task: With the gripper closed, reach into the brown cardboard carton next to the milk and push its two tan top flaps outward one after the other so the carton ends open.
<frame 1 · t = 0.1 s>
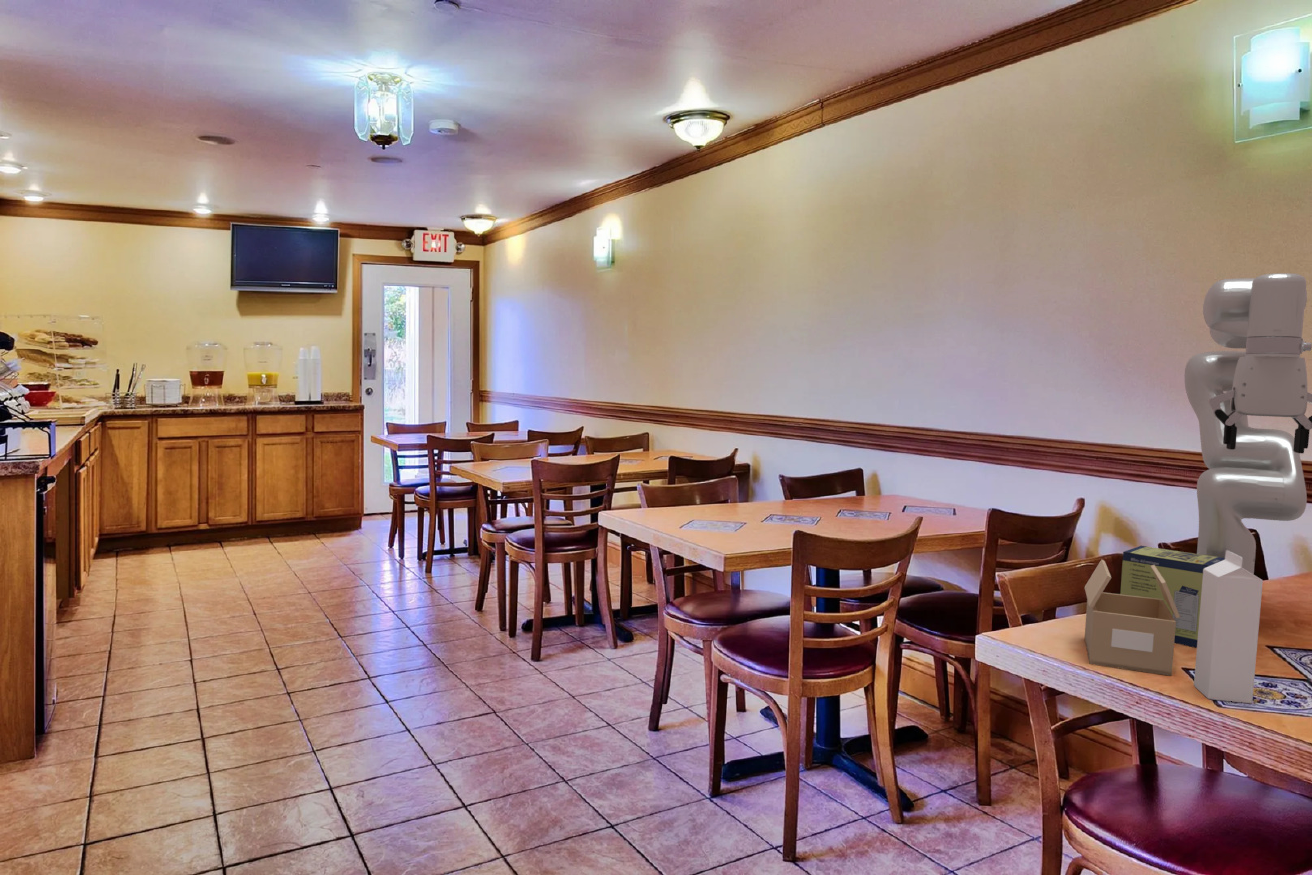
hand: (1264, 450, 147), 37 cm above the table, tool pointing down, fingers open, 9 cm apart
milk: (1222, 695, 134), on the table
flap a: (1097, 582, 152), point 12 cm above the table, hinge at -24.0°
protein box: (1169, 636, 165), on the table
carton: (1125, 655, 151), on the table
flap b: (1164, 590, 148), point 12 cm above the table, hinge at -24.0°
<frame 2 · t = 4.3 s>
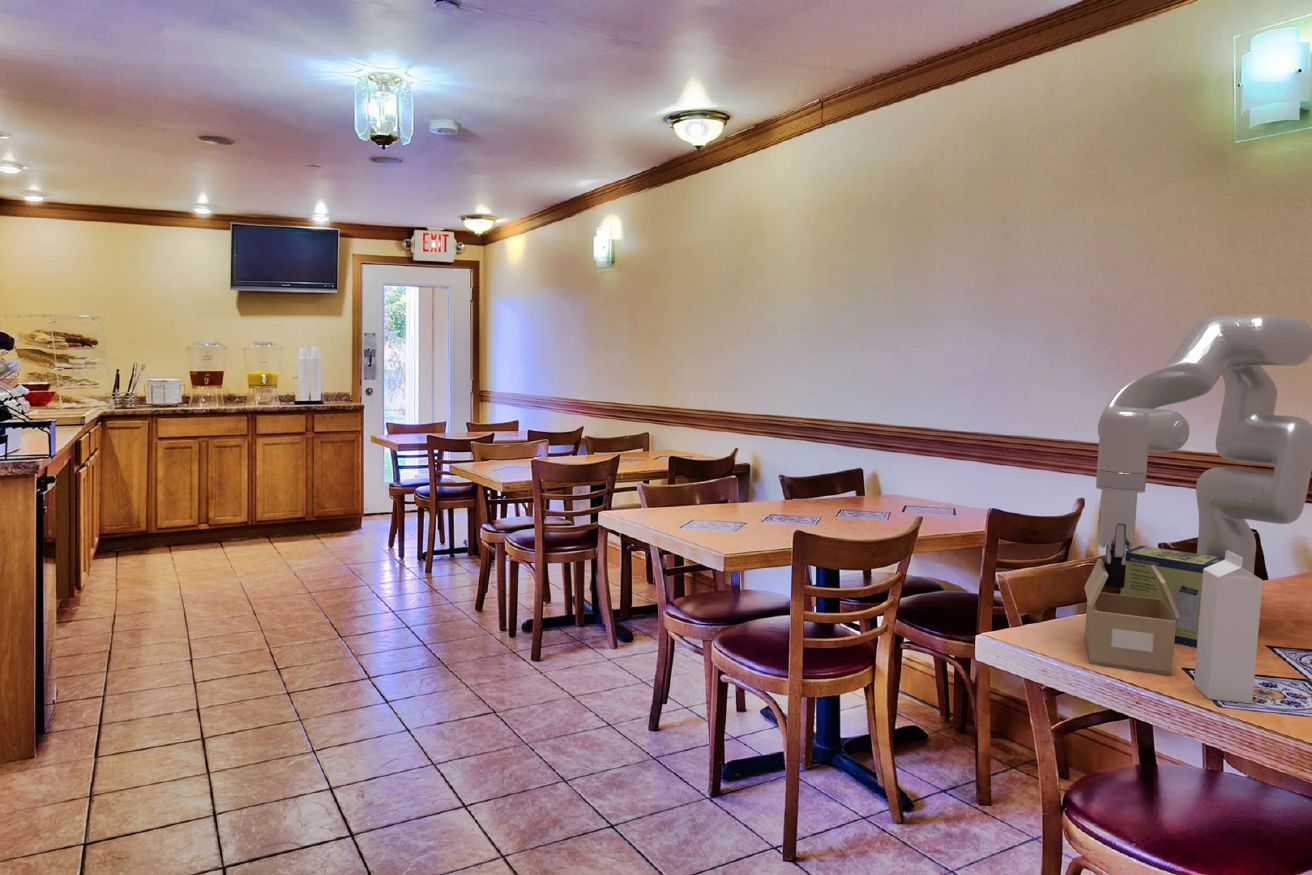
hand: (1113, 585, 151), 12 cm above the table, tool pointing down, fingers closed
flap a: (1095, 581, 153), point 12 cm above the table, hinge at -19.4°, touching gripper
everything else where it was.
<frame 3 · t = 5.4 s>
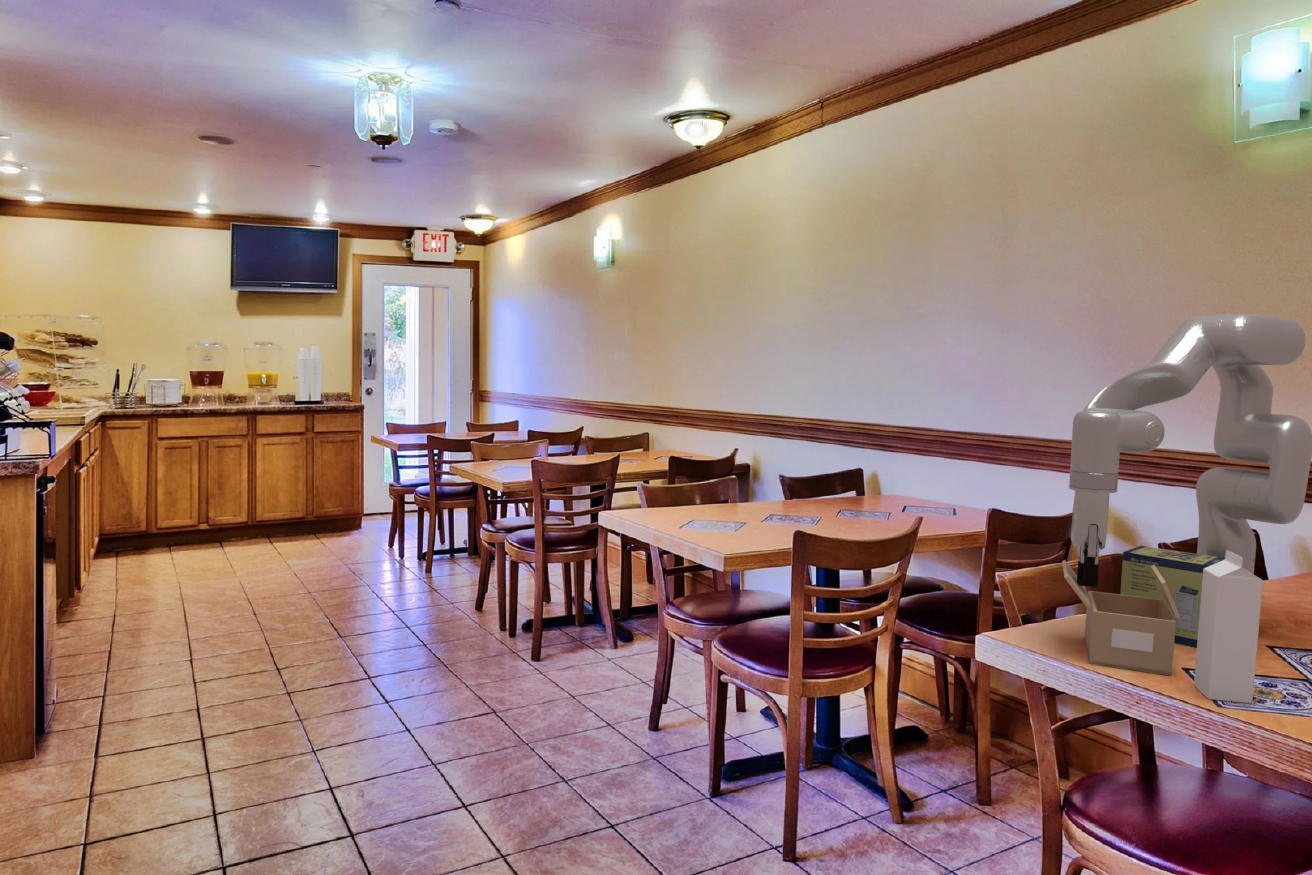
hand: (1087, 585, 153), 12 cm above the table, tool pointing down, fingers closed
flap a: (1075, 582, 154), point 12 cm above the table, hinge at 38.7°, touching gripper
everything else where it was.
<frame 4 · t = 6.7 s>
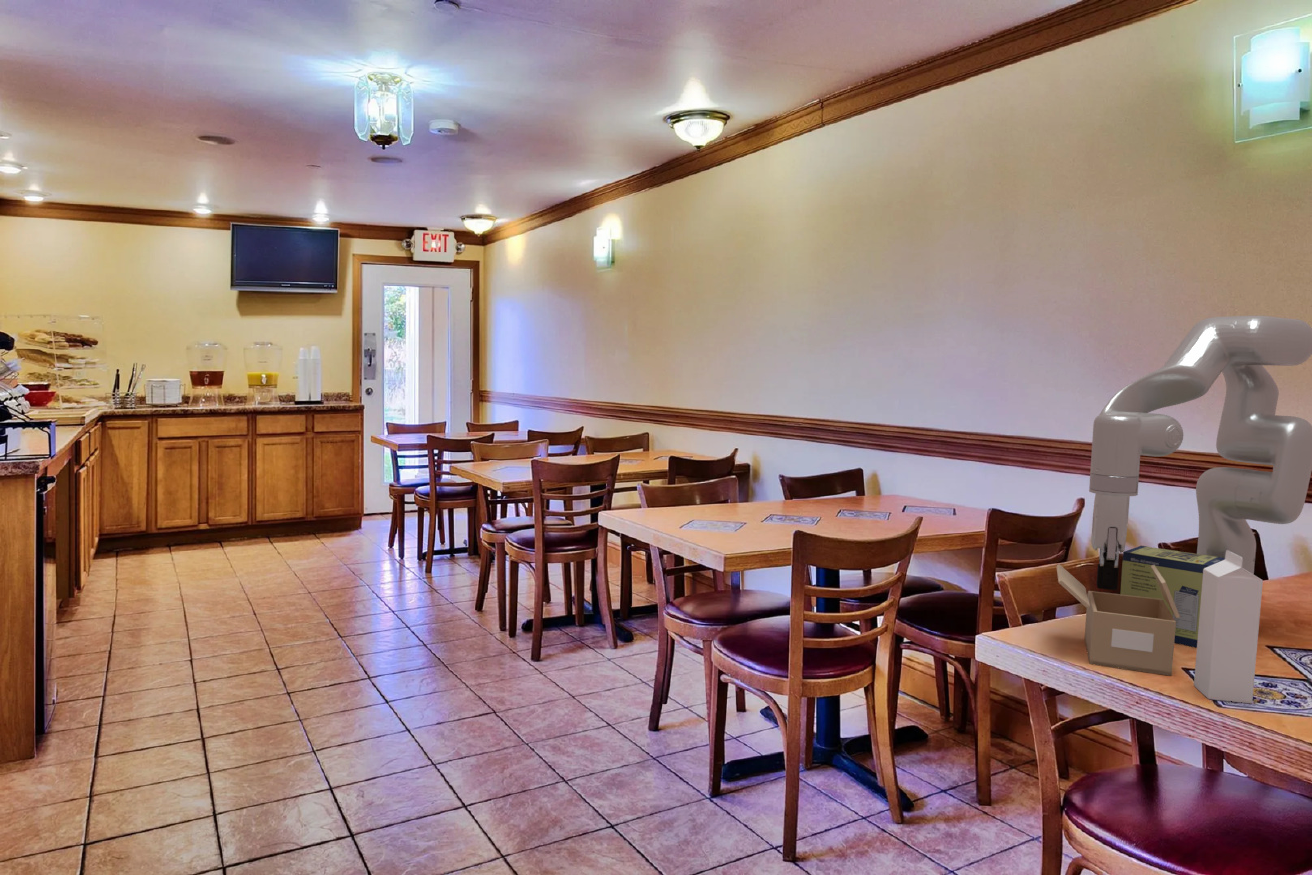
hand: (1106, 588, 153), 11 cm above the table, tool pointing down, fingers closed
flap a: (1072, 584, 154), point 11 cm above the table, hinge at 50.5°
everything else where it was.
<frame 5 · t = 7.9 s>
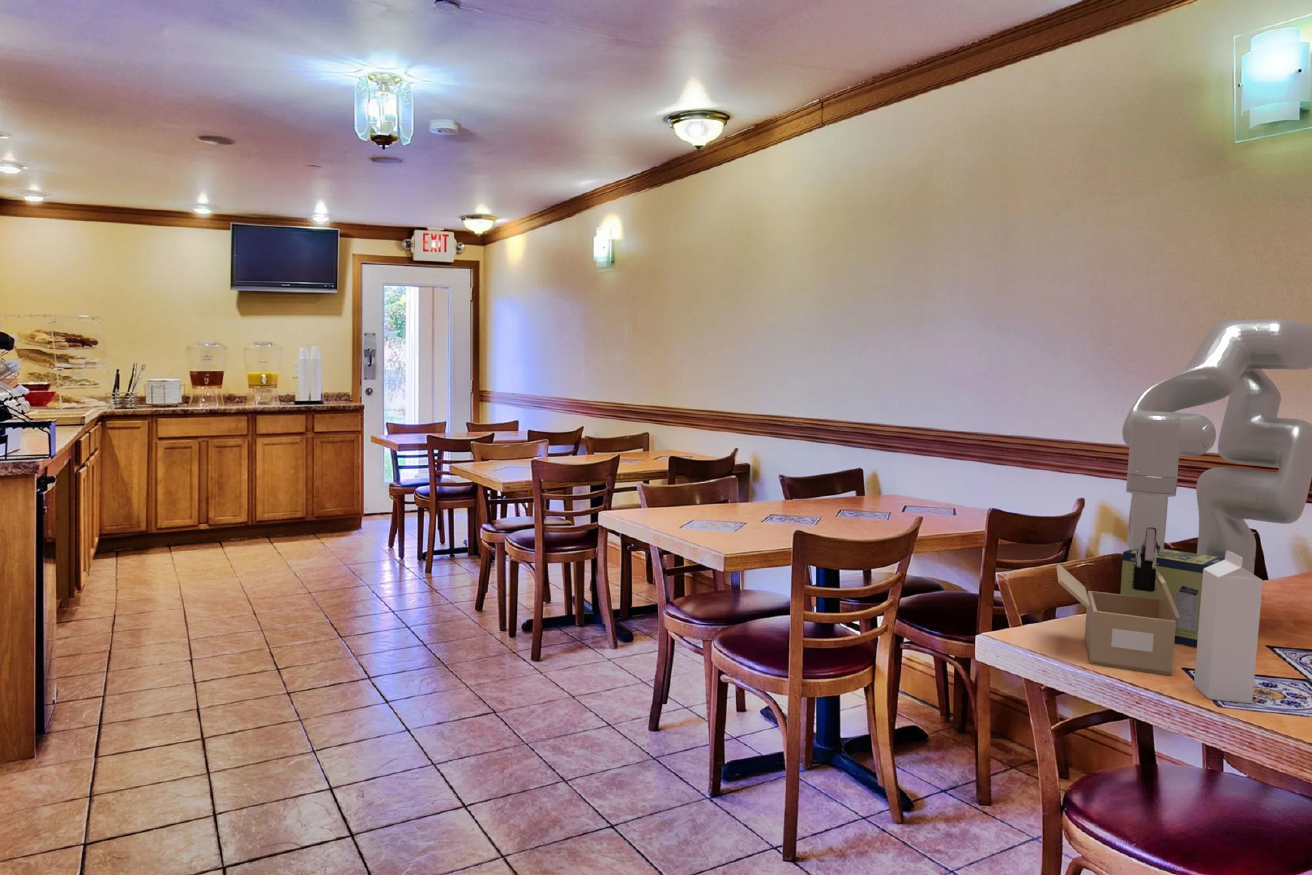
hand: (1143, 589, 151), 12 cm above the table, tool pointing down, fingers closed
flap b: (1164, 590, 148), point 12 cm above the table, hinge at -23.8°, touching gripper
everything else where it was.
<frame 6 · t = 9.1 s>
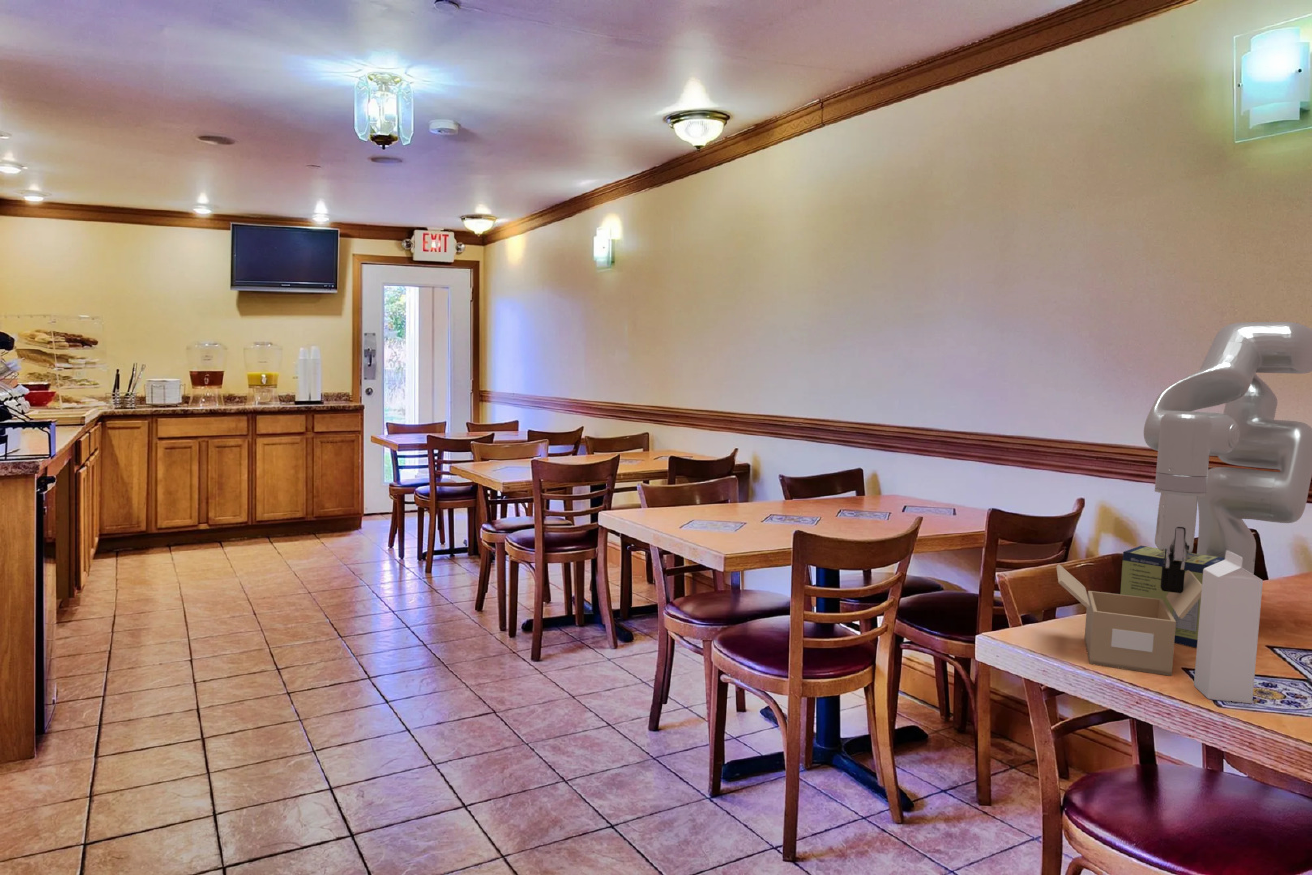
hand: (1171, 590, 150), 12 cm above the table, tool pointing down, fingers closed
flap b: (1185, 593, 147), point 12 cm above the table, hinge at 30.5°, touching gripper
everything else where it was.
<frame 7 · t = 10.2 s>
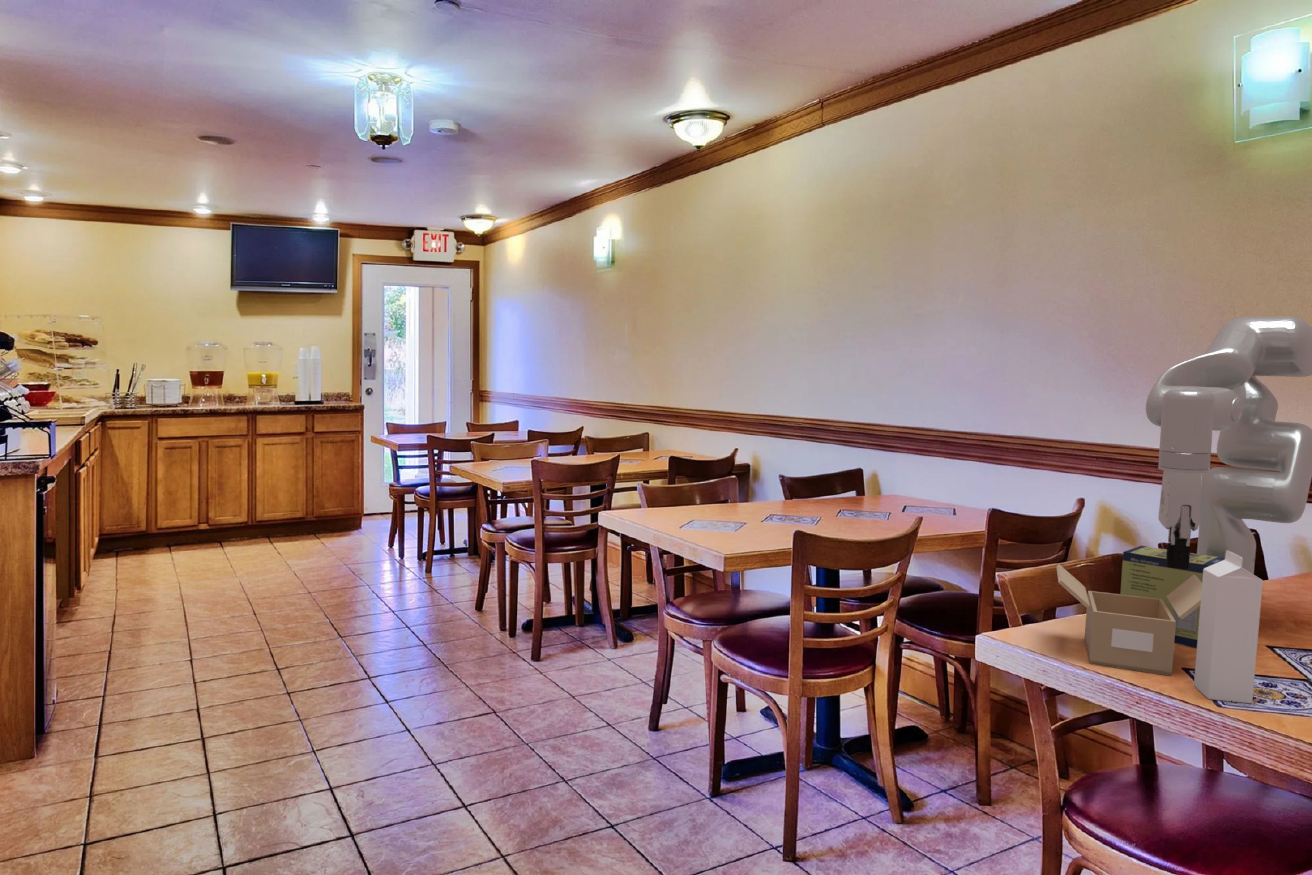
hand: (1177, 567, 150), 16 cm above the table, tool pointing down, fingers closed
flap b: (1188, 595, 147), point 12 cm above the table, hinge at 41.1°
everything else where it was.
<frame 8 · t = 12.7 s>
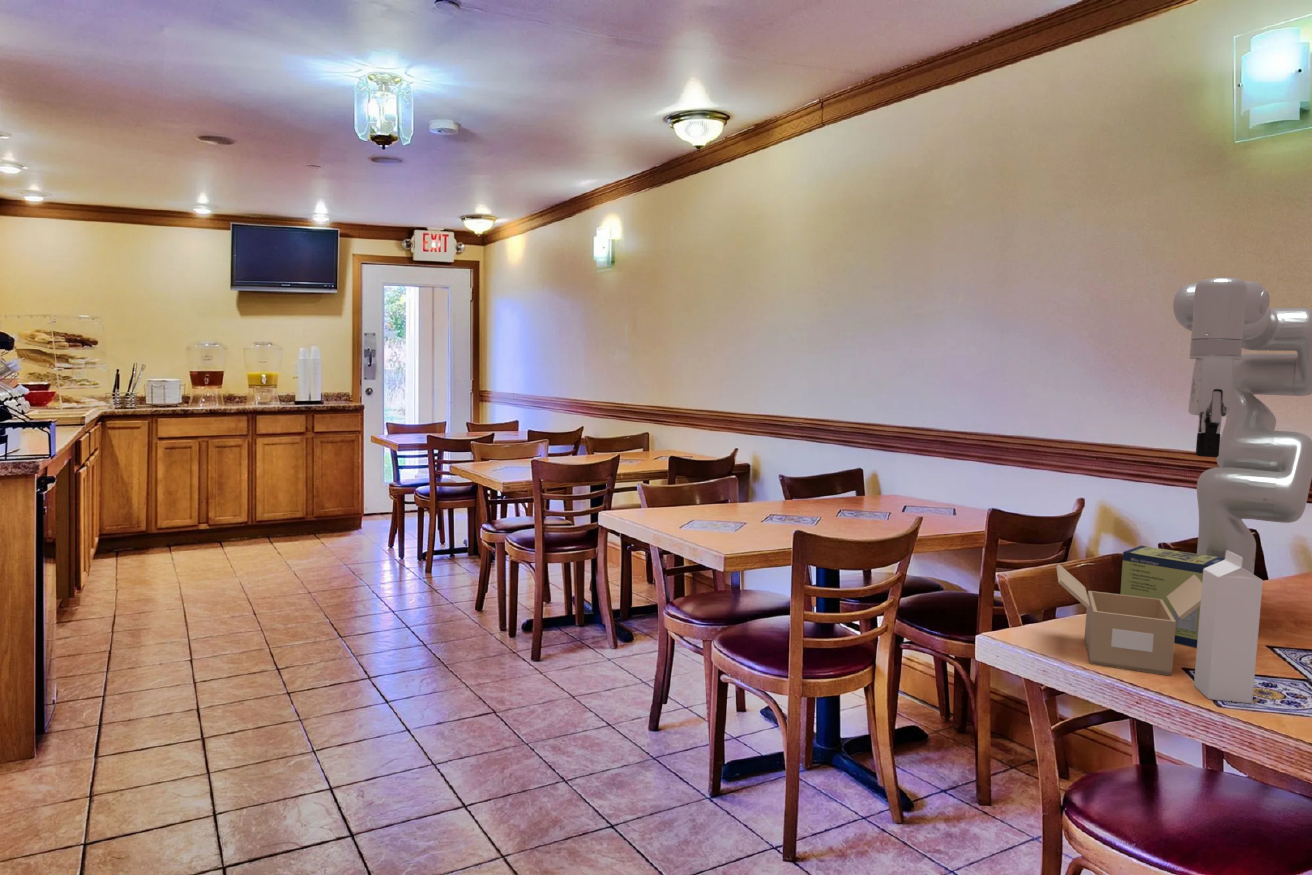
hand: (1206, 456, 152), 35 cm above the table, tool pointing down, fingers closed
nothing on the table moved.
at the end: flap a at +51° (first picture: -24°); flap b at +41° (first picture: -24°) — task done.
